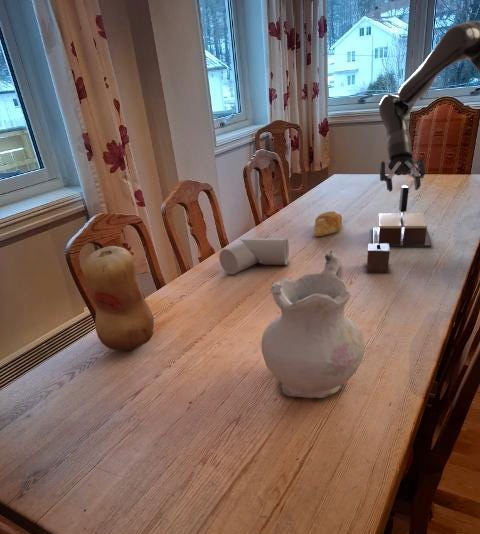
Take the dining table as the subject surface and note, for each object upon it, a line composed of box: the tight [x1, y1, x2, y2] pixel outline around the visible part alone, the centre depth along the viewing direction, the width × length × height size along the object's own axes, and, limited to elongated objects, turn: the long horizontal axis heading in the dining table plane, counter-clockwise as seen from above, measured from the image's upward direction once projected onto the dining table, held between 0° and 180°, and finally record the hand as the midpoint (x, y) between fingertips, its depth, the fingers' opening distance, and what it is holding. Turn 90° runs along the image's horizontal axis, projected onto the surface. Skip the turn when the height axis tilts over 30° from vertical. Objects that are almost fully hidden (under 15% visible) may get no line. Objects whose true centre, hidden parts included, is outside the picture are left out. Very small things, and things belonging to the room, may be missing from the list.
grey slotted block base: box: [372, 212, 432, 249], centre depth 149 cm, size 18×18×7 cm
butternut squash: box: [83, 245, 155, 352], centre depth 99 cm, size 14×13×25 cm
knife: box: [398, 185, 410, 237], centre depth 147 cm, size 2×3×17 cm, turn 175°
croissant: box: [313, 211, 343, 237], centre depth 164 cm, size 21×10×8 cm, turn 147°
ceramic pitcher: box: [261, 250, 366, 399], centre depth 82 cm, size 22×20×25 cm
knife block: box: [366, 242, 391, 274], centre depth 129 cm, size 6×6×7 cm
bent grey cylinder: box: [219, 238, 290, 276], centre depth 138 cm, size 18×10×20 cm
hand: (404, 189), depth 143 cm, fingers open, 8 cm apart
